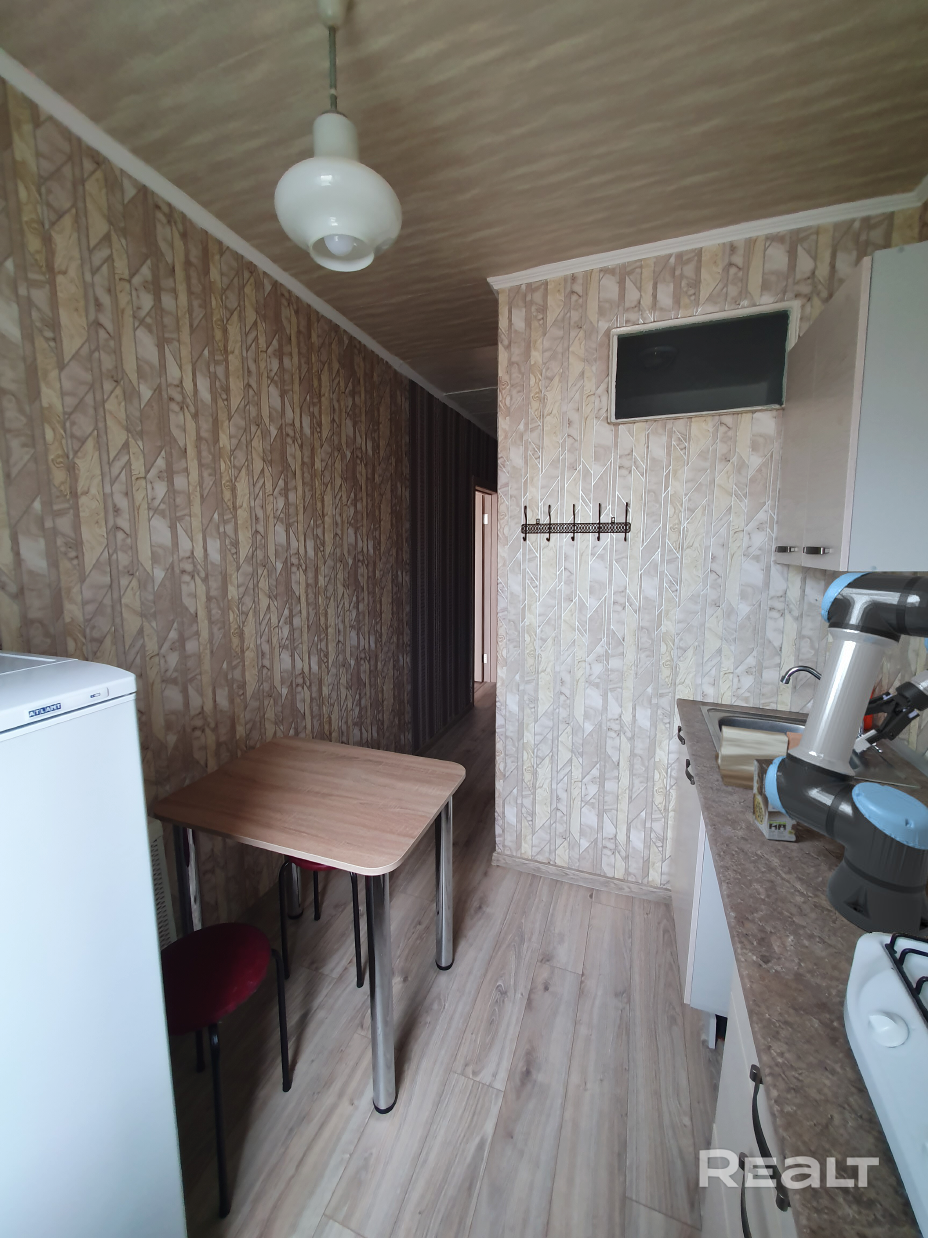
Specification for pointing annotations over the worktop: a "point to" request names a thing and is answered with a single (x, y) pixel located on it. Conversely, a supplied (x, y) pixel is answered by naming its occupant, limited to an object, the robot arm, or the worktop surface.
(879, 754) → the worktop surface
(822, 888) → the worktop surface
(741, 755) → the beige and brown block
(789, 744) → the pink beveled block
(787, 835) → the coffee box
